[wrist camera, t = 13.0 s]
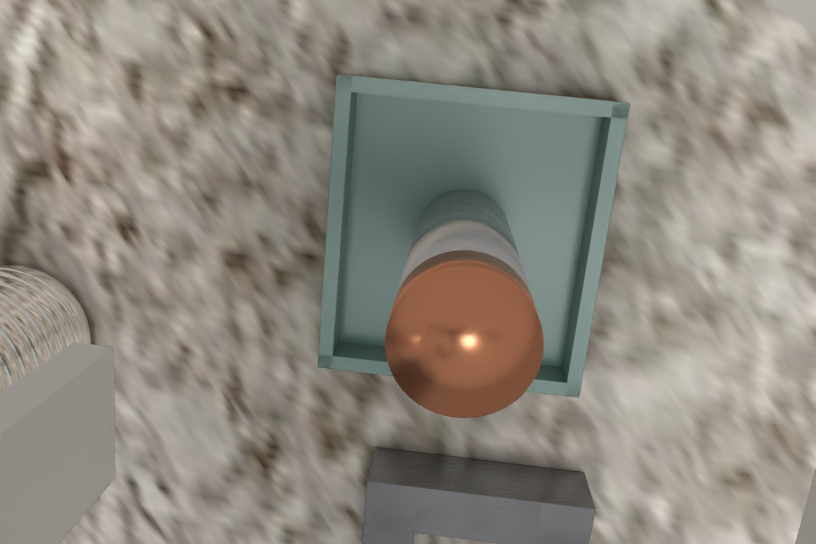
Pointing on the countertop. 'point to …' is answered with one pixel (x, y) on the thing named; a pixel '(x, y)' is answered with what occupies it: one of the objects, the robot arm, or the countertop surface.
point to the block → (473, 501)
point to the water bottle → (35, 321)
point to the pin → (463, 311)
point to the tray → (475, 170)
